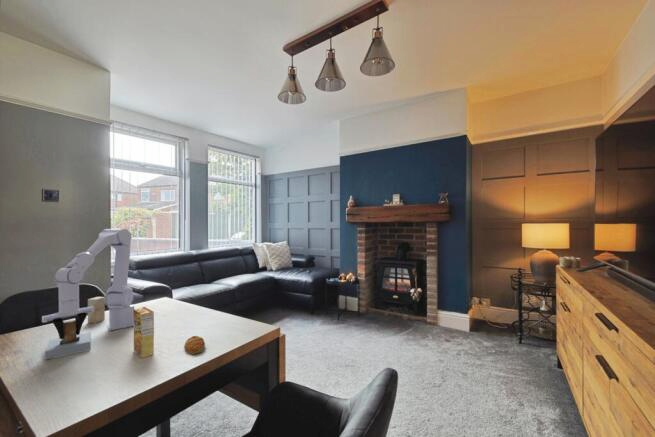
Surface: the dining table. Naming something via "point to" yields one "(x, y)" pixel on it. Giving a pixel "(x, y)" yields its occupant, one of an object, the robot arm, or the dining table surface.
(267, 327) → the dining table surface
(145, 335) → the candy box
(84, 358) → the dining table surface
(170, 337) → the dining table surface
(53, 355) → the socket block
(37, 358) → the dining table surface
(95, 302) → the box
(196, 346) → the pastry
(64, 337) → the peg
